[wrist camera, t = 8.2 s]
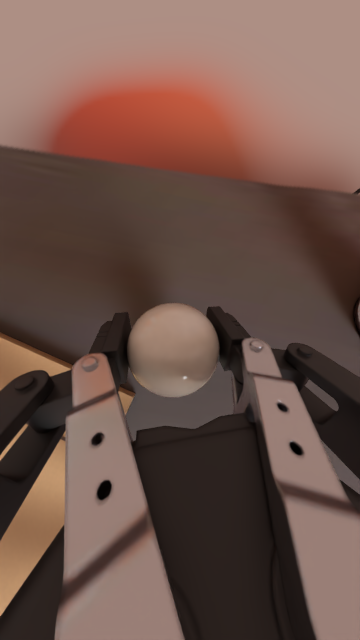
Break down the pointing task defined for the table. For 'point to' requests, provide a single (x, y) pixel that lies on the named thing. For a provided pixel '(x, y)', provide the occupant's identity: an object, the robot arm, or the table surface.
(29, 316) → the table surface
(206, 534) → the robot arm
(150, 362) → the beige rounded cylinder
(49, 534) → the game board
